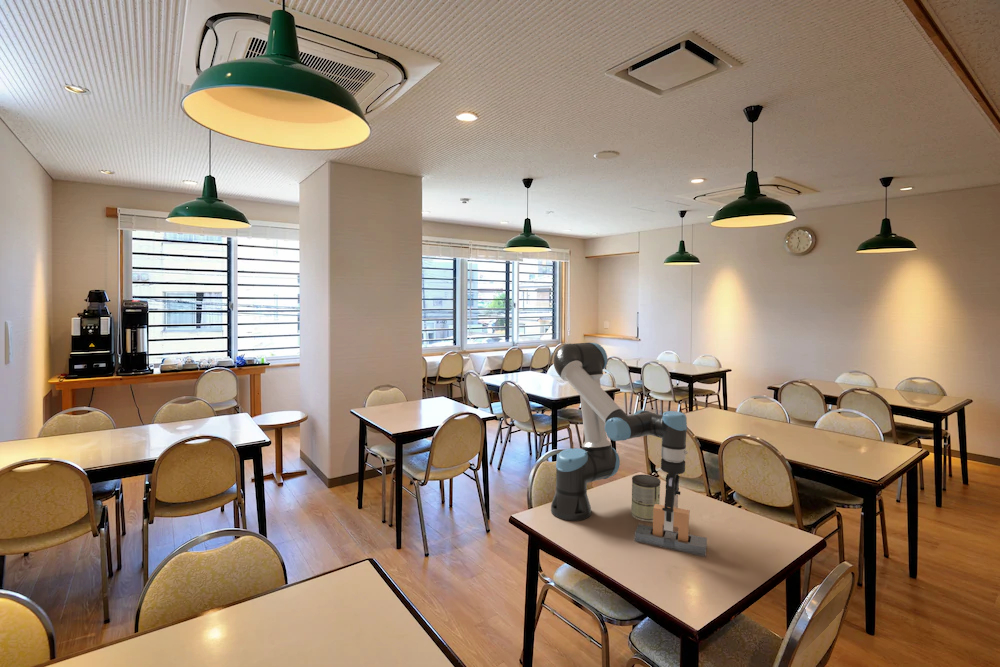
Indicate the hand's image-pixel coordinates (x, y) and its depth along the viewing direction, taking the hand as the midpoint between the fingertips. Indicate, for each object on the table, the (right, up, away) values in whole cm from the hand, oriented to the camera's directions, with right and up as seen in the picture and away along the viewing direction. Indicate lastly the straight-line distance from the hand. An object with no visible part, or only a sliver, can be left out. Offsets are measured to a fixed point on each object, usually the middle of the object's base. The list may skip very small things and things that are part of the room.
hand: (671, 521), depth 159 cm
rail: (0, -8, +1) cm, 8 cm away
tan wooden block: (0, -8, +1) cm, 8 cm away
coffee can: (-2, -6, +21) cm, 23 cm away
